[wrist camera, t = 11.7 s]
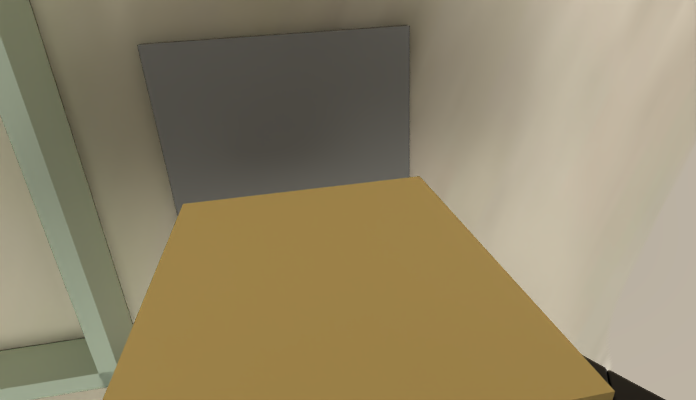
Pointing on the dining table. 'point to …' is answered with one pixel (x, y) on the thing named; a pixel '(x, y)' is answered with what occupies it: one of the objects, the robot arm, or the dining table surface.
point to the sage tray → (57, 223)
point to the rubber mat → (280, 111)
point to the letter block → (341, 307)
